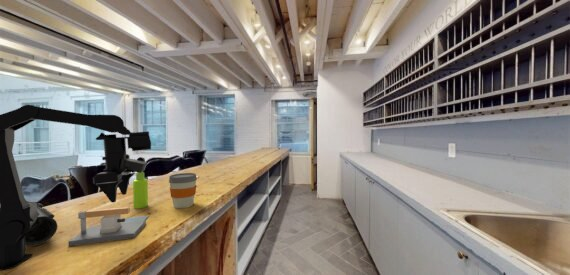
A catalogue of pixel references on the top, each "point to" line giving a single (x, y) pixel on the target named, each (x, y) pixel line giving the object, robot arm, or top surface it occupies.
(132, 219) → the mat
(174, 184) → the reusable coffee cup
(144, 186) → the soap dispenser
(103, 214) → the tan wooden bar
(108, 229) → the plug
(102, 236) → the socket block
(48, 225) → the muzzle brake
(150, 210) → the top surface
